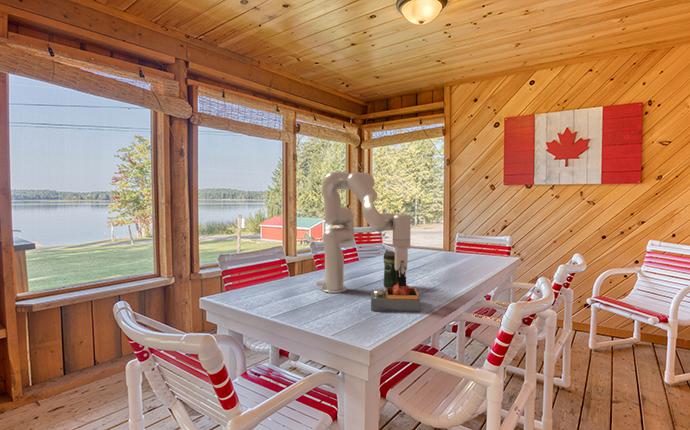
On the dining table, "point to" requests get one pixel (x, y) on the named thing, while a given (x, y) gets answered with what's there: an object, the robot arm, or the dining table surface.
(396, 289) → the pomegranate
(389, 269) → the coffee jar
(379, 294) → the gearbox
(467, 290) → the dining table surface
